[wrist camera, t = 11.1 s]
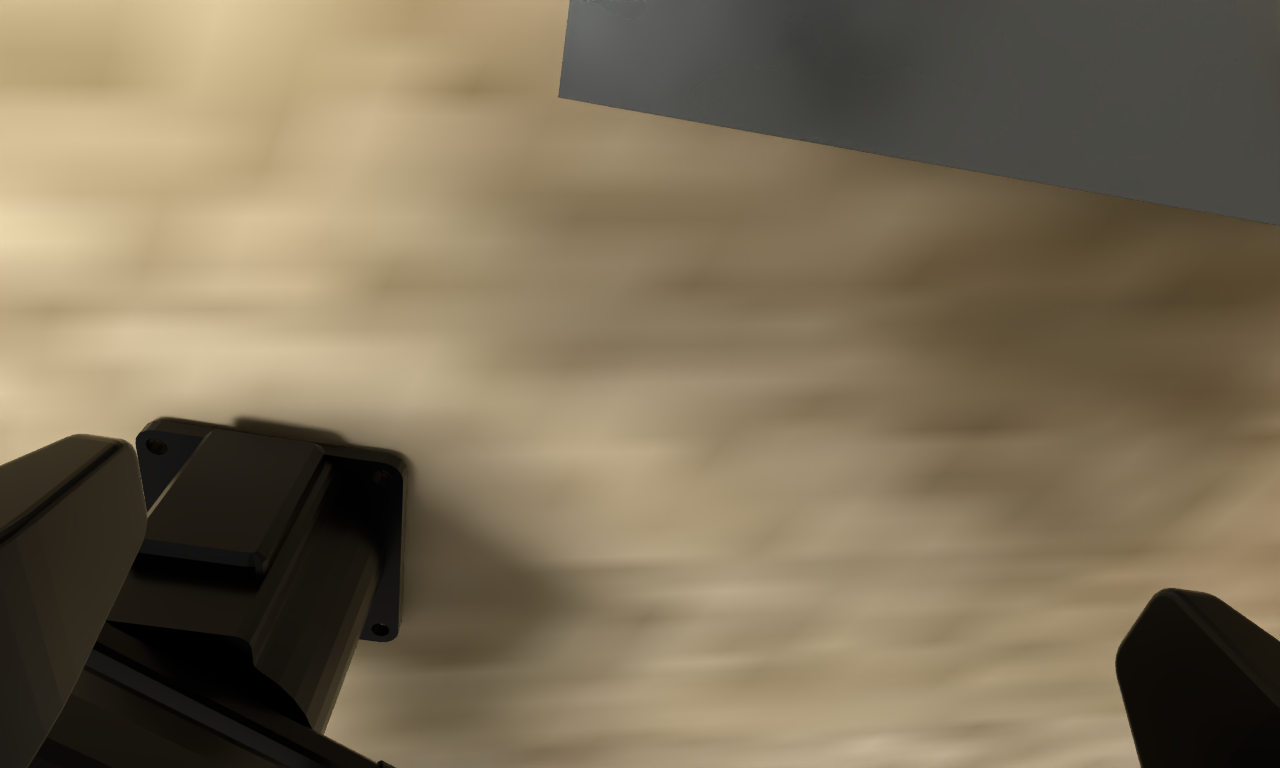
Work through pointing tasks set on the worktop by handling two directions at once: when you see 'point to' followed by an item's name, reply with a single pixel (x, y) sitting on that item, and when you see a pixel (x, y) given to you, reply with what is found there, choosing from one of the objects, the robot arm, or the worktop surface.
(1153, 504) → the worktop surface
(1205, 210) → the plate
